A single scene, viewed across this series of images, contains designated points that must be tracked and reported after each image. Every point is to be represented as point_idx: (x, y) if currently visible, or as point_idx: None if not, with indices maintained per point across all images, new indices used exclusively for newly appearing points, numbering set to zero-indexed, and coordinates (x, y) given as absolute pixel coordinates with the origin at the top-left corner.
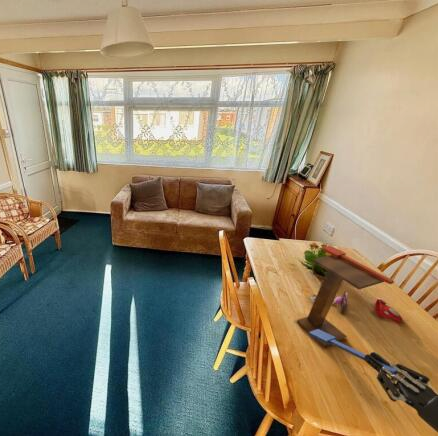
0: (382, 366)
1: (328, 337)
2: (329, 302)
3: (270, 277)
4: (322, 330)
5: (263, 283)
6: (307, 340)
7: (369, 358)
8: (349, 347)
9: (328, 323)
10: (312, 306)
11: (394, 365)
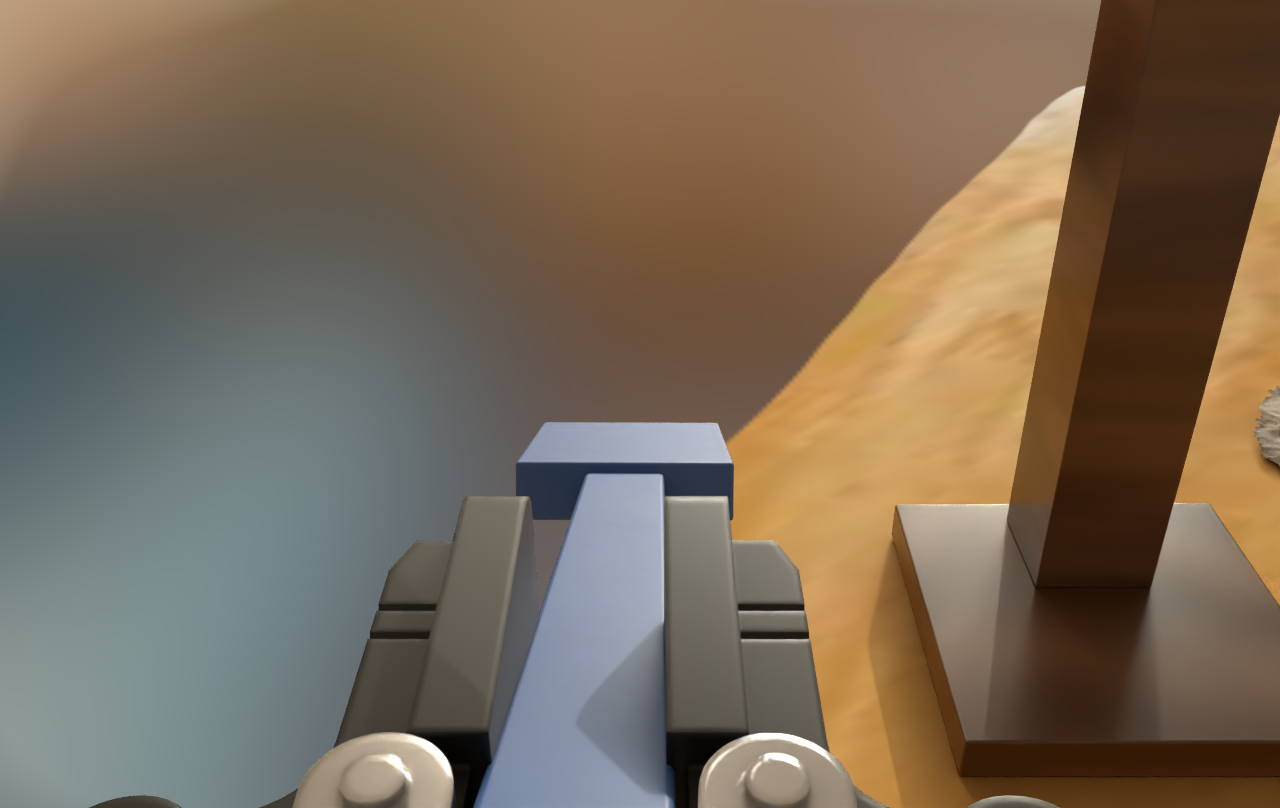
0: (425, 734)
1: (634, 454)
2: (1173, 234)
3: (1013, 251)
4: (1089, 629)
5: (897, 272)
6: (833, 682)
7: (438, 567)
8: (652, 528)
9: (1240, 593)
10: (1039, 339)
11: (833, 804)
